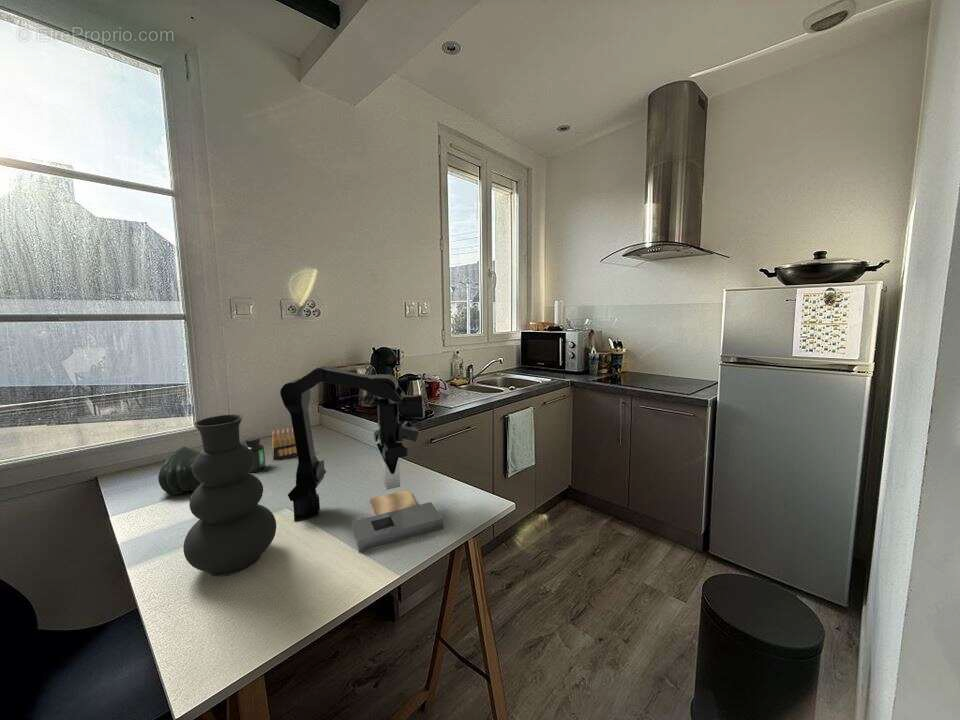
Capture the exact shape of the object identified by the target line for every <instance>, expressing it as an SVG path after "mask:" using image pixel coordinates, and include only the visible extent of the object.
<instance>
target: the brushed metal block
mask: <svg viewBox="0 0 960 720" xmlns="http://www.w3.org/2000/svg"><path fill="white" fill-rule="evenodd" d="M382 472H383V475H382V476H383V485H384V488H385V489H386V491H387V490H392V489H396V488H401V476H400V475H401V474H400V473H401V469H400V460H399V459H398V461H397V466H396V470H395V473H394V474H391V473H390V471H389V469H388V467H387V465H386V462H385V460H384V458H383V457H382Z"/></svg>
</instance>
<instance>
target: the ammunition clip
mask: <svg viewBox="0 0 960 720" xmlns="http://www.w3.org/2000/svg"><path fill="white" fill-rule="evenodd" d="M271 437H272V438H271V439H272V440H271V441H272V442H271V444H272V459H273V461H278V460H283V459H287V458H292V457H298V456H297V450H296V444H295V438H294V432H293V426H292V427H291V432H290V428H289V427H287V429H286V431H285V429H284V428H282V429H281V432H280V430H279V429H277V432H276V431H275V430H272V434H271Z"/></svg>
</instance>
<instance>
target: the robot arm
mask: <svg viewBox="0 0 960 720" xmlns="http://www.w3.org/2000/svg"><path fill="white" fill-rule="evenodd" d="M320 383H325V384H330V385H331V384H332V385H337V386H343V387H347V388H353V389H358V390H363V391H365V392H367V393H369V394H371V395H373V396H374V398H373V400H372V401H371V402H370V403H369V405H370V406H377V419H378V421H377V427H378V429H376V430H375V431H374V433H373V440H374V442H378V441H379V442H378V443H376V447H377V449H378V451H379V453H380V455H381V457H382V459H383V458H384V460H385V462H386V465H387V467H388V469H389V471H390V473H391V474H394V473H395V470H396V466H397V461H398V460H399V458H403V457H407V456H409V451H408V448H407V446H406V445H405V444H404V443H403V441H404V440H409V441H412V442H414V443H415V442H416V443H417V440H418V438H419V435H420V429H418V428H417V427H415V426H413V425H412V422H411V421H408V420H411V419H412V420H413V419H424V418H425V415H426V414H425V413H426V411H425V409H426V408H425V407H426V406H425V401H424V394H415V395H413V394H409V395H406V393H405V391H404V390H403V389H402V388H401V387H400V386H399V382H398V379H397V377H396V376H394V375H392V374H386V373H385V374H381V373H380V374H377V373H376V374H363V373H359V372H353V371H346V370H342V369H338V368H332V367H327V366H325V365H320V366H317V367H316V368H314V369H312V371H310V372H309V373H307V374H305V375H304V376H303V377H301V378H296V379H293V380H291V381H289V382H287V383H285V384H284V385H282V387H281V388H280V391H279V394H280V398H281V400H282V403H283V406H284V407H285V409H286V410H287V412H289V416H290V420H291V426H292V427H293V432H294V438H295V444H296V450H297V456H296V457H297V461H298V462H297V467H296V473H295V486H294V487H293V488H292V489H291V490H290V492H288V493H287V497H288V499H289V500H290V502H292V503H293V504H292V505H293V521H294V522H297V521H302V520H306V519H309V518H314V517H319V515H320V511H321V505H320V504H321V503H320V495H319V493H317V488H318V487H319V485H320V484H321V483H322V481H323V480H324V478H325V475H326V473H327V470H326V468H325V460H324V459H322V460H319V459H318V458H317V456H316V452H315V445H314V439H313V434H312V433H313V432H312V426H311V421H310V415H309V414H310V413H309V407H310V406H309V405H310V402H311V389H312V388H315V387H316V386H317V385H318V384H320ZM399 416H401V417H402V418H403V419H404V420H405V421H404V422H403V423H401V422H400V421H399V420H400V417H399Z"/></svg>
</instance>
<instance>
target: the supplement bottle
mask: <svg viewBox="0 0 960 720" xmlns="http://www.w3.org/2000/svg"><path fill="white" fill-rule="evenodd" d="M244 445H246V446H247V447H248V448H249V449H250V450H251V451H252V453H253V456H254V463H253V466H252V468H251V470H250V471H249V472H248V473H250V474H252V473H257V472H261V471H263V470H265V468H266V466H267V465H266V455H265V446H264V445H263V443H261V437H260V436H252V437H247V438H245V440H244Z"/></svg>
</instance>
